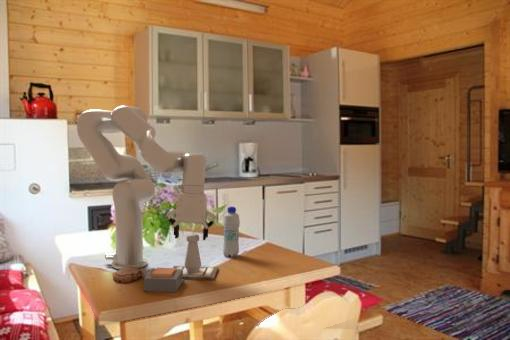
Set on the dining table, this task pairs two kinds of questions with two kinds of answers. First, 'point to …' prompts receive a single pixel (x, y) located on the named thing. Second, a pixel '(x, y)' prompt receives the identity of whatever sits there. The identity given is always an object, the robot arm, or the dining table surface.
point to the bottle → (231, 233)
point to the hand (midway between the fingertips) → (190, 238)
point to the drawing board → (199, 273)
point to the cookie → (127, 275)
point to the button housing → (163, 282)
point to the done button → (164, 272)
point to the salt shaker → (192, 254)
